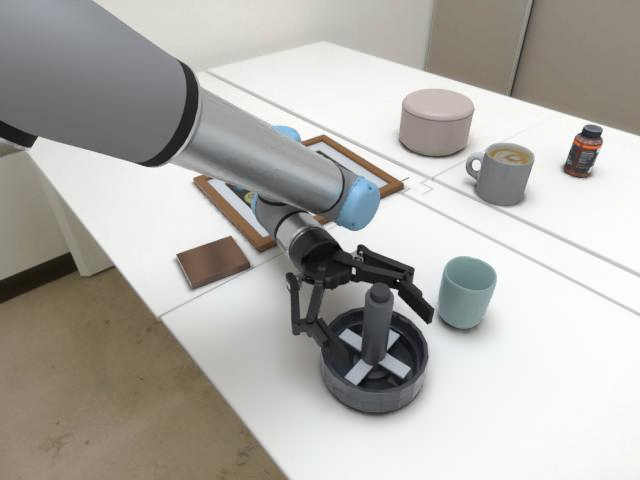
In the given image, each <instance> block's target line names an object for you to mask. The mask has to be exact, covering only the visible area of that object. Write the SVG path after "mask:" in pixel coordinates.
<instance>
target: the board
mask: <svg viewBox="0 0 640 480" xmlns="http://www.w3.org/2000/svg"><path fill="white" fill-rule="evenodd" d="M175 255H176V259H177V260H176V261H177V262H178V264H179V266H180V267H181V269H182V272H183V273H184V275H185V277H186V279H187V281H188V284H189V286H190V287H191V290H195V289H197V288H200V287H202V286H206V285H208V284H210V283H213V282H216V281H218V280H221V279H224V278H226V277H229V276H232V275H234V274H237V273H240V272H243V271H246V270H248V269H251V262H250V261H249V259H248V258H247V256H246V255H245V253H244V251H243V250H242V249H241V248H240V246H239V245H238V243H237V241H236V240H235V238H234V237H233V236H232V235H228V236H225V237H222V238H219V239H217V240H213V241H211V242H207V243H204V244H202V245H199V246H196V247H194V248H190V249H187V250H184V251H181V252H179V253H178V252H177V253H176V254H175Z"/></svg>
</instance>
